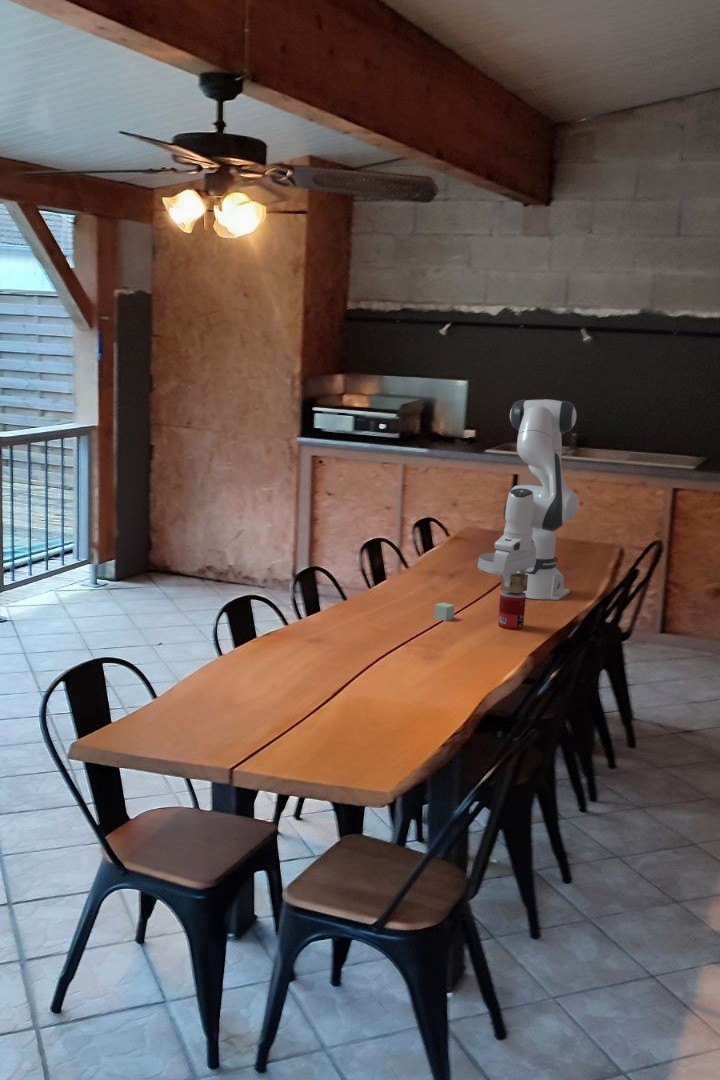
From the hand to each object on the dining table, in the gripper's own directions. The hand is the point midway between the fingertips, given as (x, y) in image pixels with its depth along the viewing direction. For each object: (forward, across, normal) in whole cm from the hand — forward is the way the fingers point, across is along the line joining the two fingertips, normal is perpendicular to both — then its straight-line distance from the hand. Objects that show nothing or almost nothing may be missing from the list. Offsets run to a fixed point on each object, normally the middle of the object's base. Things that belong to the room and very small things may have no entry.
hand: (513, 584), depth 333 cm
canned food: (+14, 0, 0) cm, 14 cm away
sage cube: (+14, +8, -20) cm, 26 cm away
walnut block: (+2, 0, 0) cm, 2 cm away
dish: (+14, -72, -45) cm, 86 cm away
